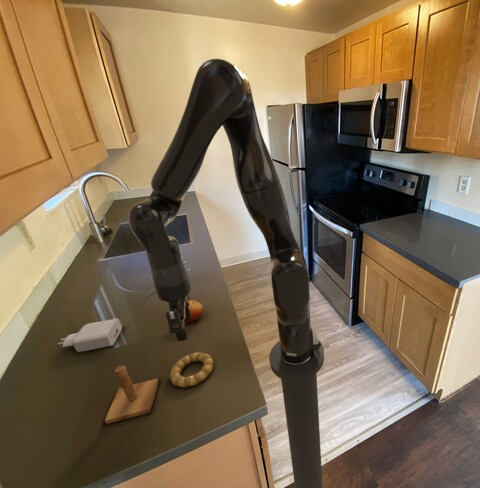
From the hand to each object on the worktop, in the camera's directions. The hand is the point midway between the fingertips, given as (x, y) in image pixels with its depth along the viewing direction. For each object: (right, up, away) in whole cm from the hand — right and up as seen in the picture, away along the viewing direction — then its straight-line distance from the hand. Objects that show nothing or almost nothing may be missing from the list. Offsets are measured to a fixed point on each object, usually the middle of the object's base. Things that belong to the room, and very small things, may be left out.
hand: (185, 328), depth 75 cm
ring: (+1, -11, +1) cm, 11 cm away
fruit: (-9, -3, +23) cm, 24 cm away
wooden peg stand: (-9, -16, -6) cm, 20 cm away
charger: (-37, -8, +13) cm, 40 cm away
